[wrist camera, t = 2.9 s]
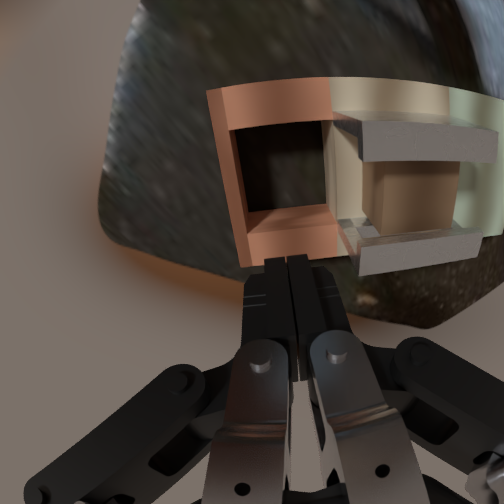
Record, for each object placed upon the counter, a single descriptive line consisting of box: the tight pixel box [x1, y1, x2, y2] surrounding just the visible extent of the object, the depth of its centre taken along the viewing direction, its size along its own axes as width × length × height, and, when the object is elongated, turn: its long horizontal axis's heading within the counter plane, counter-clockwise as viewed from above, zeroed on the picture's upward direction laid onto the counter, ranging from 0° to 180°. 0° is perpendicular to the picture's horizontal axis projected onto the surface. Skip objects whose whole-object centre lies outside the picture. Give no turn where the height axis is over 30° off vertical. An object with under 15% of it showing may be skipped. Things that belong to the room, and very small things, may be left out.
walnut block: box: [362, 161, 460, 236], centre depth 17 cm, size 6×6×4 cm
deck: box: [206, 77, 504, 267], centre depth 20 cm, size 28×14×4 cm, turn 98°
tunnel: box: [332, 110, 499, 276], centre depth 16 cm, size 10×9×6 cm
